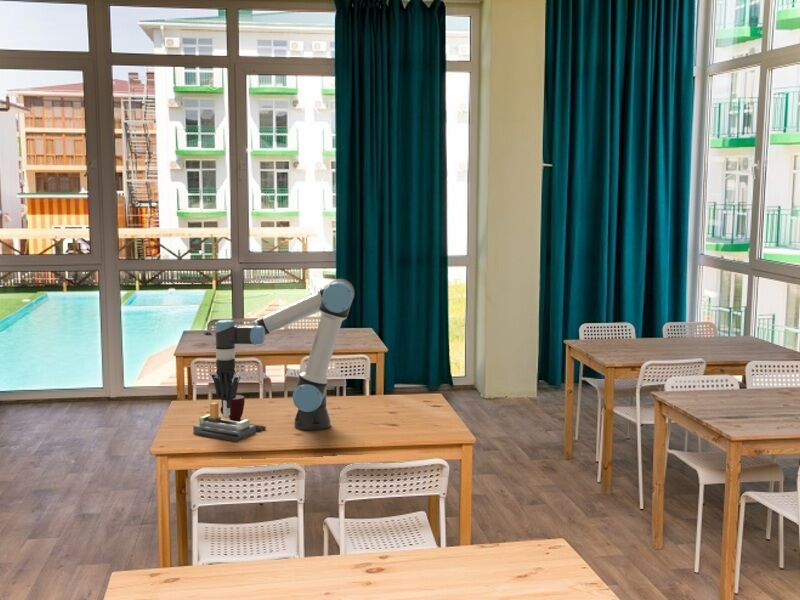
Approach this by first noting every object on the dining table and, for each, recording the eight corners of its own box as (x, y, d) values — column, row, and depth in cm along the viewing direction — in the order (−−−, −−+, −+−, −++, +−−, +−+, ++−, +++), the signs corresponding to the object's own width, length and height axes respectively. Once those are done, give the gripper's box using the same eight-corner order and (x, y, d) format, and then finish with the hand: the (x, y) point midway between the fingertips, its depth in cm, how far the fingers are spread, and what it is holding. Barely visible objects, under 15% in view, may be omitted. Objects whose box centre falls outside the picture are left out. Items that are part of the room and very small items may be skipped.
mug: (226, 424, 371) (226, 401, 370) (217, 420, 377) (216, 397, 376) (248, 420, 378) (248, 397, 376) (238, 416, 384) (238, 394, 382)
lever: (220, 423, 360) (220, 403, 359) (216, 424, 357) (215, 404, 356) (212, 421, 361) (212, 401, 360) (208, 423, 358) (207, 403, 357)
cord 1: (239, 441, 346) (239, 436, 346) (236, 442, 345) (236, 437, 344) (199, 434, 355) (199, 429, 355) (196, 435, 354) (196, 430, 353)
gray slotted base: (255, 432, 358) (255, 418, 357) (238, 440, 347) (238, 425, 347) (211, 426, 367) (211, 412, 367) (193, 433, 357) (193, 418, 356)
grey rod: (262, 431, 361) (262, 426, 361) (260, 432, 359) (260, 427, 359) (215, 423, 371) (215, 419, 371) (212, 424, 369) (212, 420, 369)
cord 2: (266, 429, 363) (266, 425, 363) (264, 430, 362) (264, 426, 362) (216, 423, 372) (216, 419, 372) (214, 423, 371) (214, 420, 371)
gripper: (244, 358, 354) (245, 415, 357) (218, 355, 359) (219, 411, 362) (233, 361, 347) (234, 419, 350) (206, 358, 353) (207, 415, 355)
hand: (226, 415), depth 356 cm, fingers closed
